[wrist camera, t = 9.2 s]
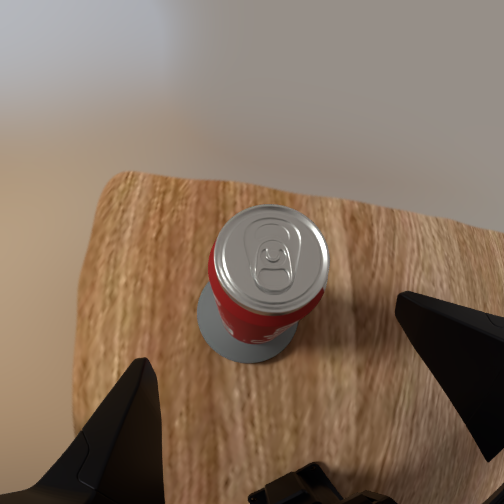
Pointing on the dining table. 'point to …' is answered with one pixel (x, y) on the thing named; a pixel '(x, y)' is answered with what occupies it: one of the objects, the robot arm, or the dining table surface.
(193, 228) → the dining table surface
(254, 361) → the coaster
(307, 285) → the soda can
